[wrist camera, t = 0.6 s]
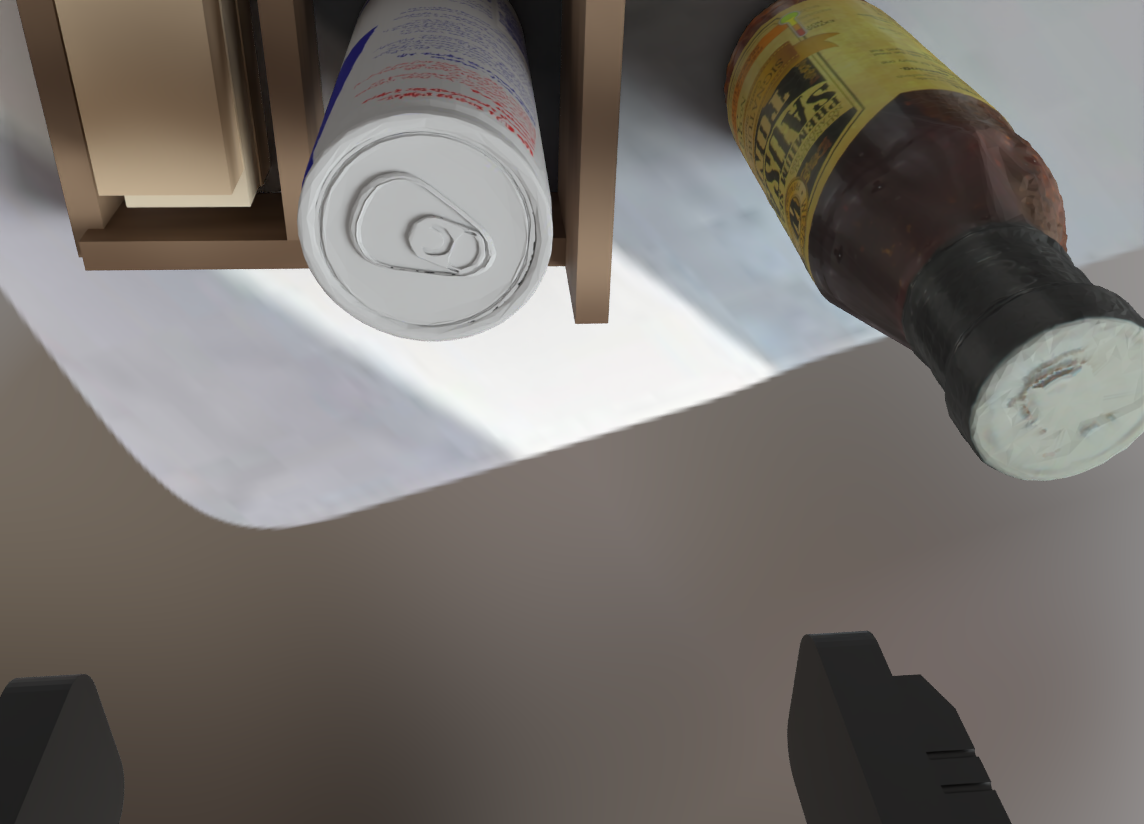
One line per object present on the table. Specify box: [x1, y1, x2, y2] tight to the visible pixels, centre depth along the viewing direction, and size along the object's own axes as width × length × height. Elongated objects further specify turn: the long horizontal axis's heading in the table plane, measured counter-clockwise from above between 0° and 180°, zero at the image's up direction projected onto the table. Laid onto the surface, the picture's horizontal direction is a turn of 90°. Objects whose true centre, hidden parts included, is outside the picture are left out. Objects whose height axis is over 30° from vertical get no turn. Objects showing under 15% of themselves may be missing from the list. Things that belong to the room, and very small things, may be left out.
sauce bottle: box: [724, 0, 1144, 481], centre depth 29 cm, size 6×6×20 cm
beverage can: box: [297, 0, 553, 341], centre depth 29 cm, size 6×6×15 cm
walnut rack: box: [16, 0, 625, 324], centre depth 32 cm, size 12×17×8 cm
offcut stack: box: [55, 0, 271, 207], centre depth 33 cm, size 8×4×6 cm, turn 178°
